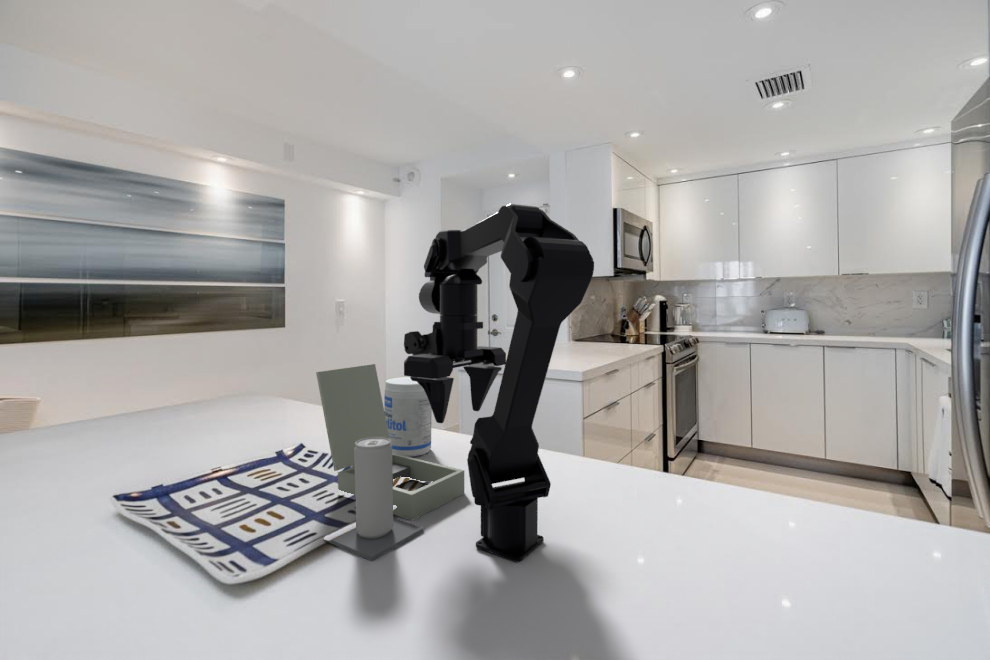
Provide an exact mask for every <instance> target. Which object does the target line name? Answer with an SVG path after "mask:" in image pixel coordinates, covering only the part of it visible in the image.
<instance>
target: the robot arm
mask: <svg viewBox="0 0 990 660" xmlns="http://www.w3.org/2000/svg"><path fill="white" fill-rule="evenodd" d="M500 252H501V253H500ZM498 253H500V259H501V260H502V262H503V263H504V266H505V267H506V268H507V269H508V272H509V273H510V277H509V286H508V287H509V290H510V291H511V292H510V293H511V296H512V297H513V300H514V303H515V305H516V310H517V314H516V319H515V323H514V325H513V329H512V335H511V339H510V343H509V347H508V352H507V353H506V352H505V350H504V349H503V348H502V347H498V346H497V347H496V346H484V345H483V346H482V345H481V346H478V330H480V329H484V321H478V285H479V286H480V285H482V284H483V280H482V278H481V277H480V276H479V275H478V272H479V270H480V269H481V268H483V267H484V266H485V265H486V264H487V263H488V257H490V256H492V255H495V254H498ZM424 261H425V262H424V264H423V269H424V277H425V278H429V280H428V281H426V282H425V283H424V284H423V285H422V286H421V288H420V290H419V293H418V300H419V304H420V306H421V308H422V309H424V311H426V312H428V313H431V314H436V315H437V314H438V315H439V321H434V322H433V324H432V332H430V333H427V334H424V333H423V334H421V332H420V331H418V330H417V331H409V332H406V333H404V338H403V339H404V340H403V348H404V352H405V353H406V354H407V355H408V356H407V357H406V359H404V362H403V376H405V377H410V378H411V380H412V381H417V382H418V383H419V384H420V385H421V386H422V387H423V389H424V391H425V393H426V395H427V397H428V400H429V403H430V406H431V408H432V413H433V414H432V415H433V416H434V420H435V422H436V423H438V424H443V423H444V421H445V419H446V416H447V415H446V414H447V411H448V408H449V407H448V406H449V402H450V398H451V393H452V388H453V384H454V380H455V379H454V377H451V375H452V373H453V370H454V369H456V368H460V367H462V368H463V369H464V371H465V372H466V374H467V375H468V377H469V383H470V385H469V387H470V399H471V407H472V410H473V411H474V412H480V410H481V408H482V406H483V405H484V402H485V399H486V397H487V395H488V393H489V391H490V389H491V387H492V385H493V383H494V382H495V380H496V378H497V376H498V374H499V372H501V371H502V368H503V367H502V366H504V370H503V373H502V376H501V377H502V378H501V381H500V386H499V390H498V393H497V398H496V402H495V407H494V410H493V413H492V414H491V416H484V417H478V418H477V420H476V421H475V423H474V426H473V427H474V428H473V435H472V437H471V439H470V441H469V443H470V445H471V446H470V449H469V450H468V454H467V458H466V461H467V468H468V469H467V470H468V475H469V477H468V478H469V481H470V482H469V483H470V489H471V492H472V497H473V499H474V500H473V501H474V504H475V506H479V507H480V536H481V538H480V539H479V540H477V541H475V547H476V548H477V549H480V550H482V551H485V552H488V553H491V554H493V555H496V556H499V557H503V558H505V559H508V560H511V561H513V562H521V561H522V560H524V558H526V557H527V556H528V555H529V554H530V553H531V552H533V551H534V550H535V549H536V548H538V547H539V546H540V545H541V544H542V543H544V536H543V535H540V534H538V520H539V519H538V513H539V512H538V509H539V507H538V506H539V504H538V503H539V501H538V500H539V498H548V497H549V493H550V490H551V489H550V488H551V483H552V482H551V481H550V479H549V476H548V473H547V471H546V469H545V467H544V464H543V462H542V460H541V458H540V455H539V454H538V453H539V447H540V444H539V442H538V439H537V437H536V435H535V432H534V429H533V424H534V420H535V416H536V413H537V410H538V409H537V408H538V405H539V402H540V399H541V394H542V391H543V388H544V385H545V381H546V377H547V374H548V370H549V367H550V363H551V361H552V360H551V359H552V357H553V352H554V348H555V345H556V341H557V338H558V335H559V331H560V328H561V325H562V323H563V322H564V321H565V320H566V319H567V318H568V317H569V316H570V315H571V314H572V313H573V311H575V310H576V309H577V307H579V306H580V305H581V304H582V301H583V299H584V297H585V295H586V293H587V291H588V287H589V286H590V284H591V282H592V279H593V275H594V273H595V272H594V270H595V261H594V258H593V256H592V253H591V252H590V250H589V248H588V246H587V245H586V244H585V243H584V242H583V241H582V240H580V239H579V238H578V237H577V236H576V234H574V233H573V232H572V231H569V230H568V229H566V227H563V226H562V225H560V224H558V223H557V222H555V221H554V220H553V219H551V218H550V217H549V216H548V214H547V213H546V212H545V211H544V210H543V209H541V208H539V207H538V206H532V205H526V204H525V205H524V204H514V203H508V204H506V205H503V206H501V207H500V208H499V210H498V211H497V212H495V213H494V214H492V215H490V216H488V217H486V218H485V219H483V220H480V221H478V222H476V223H475V224H473V225H471V226H469V227H467V228H465V229H446V230H440V231H439V232H437V234H436V236H435V237H434V238H433V239H432V242H431V246H430V247H429V250H428V253H427V255H426V258H425V260H424ZM520 479H524V480H523V481H518V482H514V483H508V484H504V485H498V486H493V485H494V484H499V483H503V482H504V483H505V482H508V481H514V480H515V481H516V480H520Z"/></svg>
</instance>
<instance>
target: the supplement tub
mask: <svg viewBox="0 0 990 660" xmlns="http://www.w3.org/2000/svg"><path fill="white" fill-rule="evenodd" d="M410 377H411V376H405V377H393V378H389V379H387V380H386V381H385V385H384V400H383V401H384V403H383V407H384V412H385V417H386V422H387V428H388V433H389V438H390V440H391V445H392V453H396V454H400V455H404V456H408V457H412V458H414V457H419V456H422V455H425V454H426V453H428V452H430V450H431V449H432V421H433V420H432V415H433V414H432V413H433V411H432V408H431V406H430V403H429V400H428V397H427V395H426V393H425V391H424V389H423V387H422V386H421V385H420V384H419V383H418V382H417V381H412V380H411V378H410Z"/></svg>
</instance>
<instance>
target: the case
mask: <svg viewBox="0 0 990 660" xmlns="http://www.w3.org/2000/svg"><path fill="white" fill-rule="evenodd" d="M392 471H393V479H395V478H397V477H400V476H401V477H410V478H412V479H416V480H420V481H433V482H432V483H430V484H428V485H426V484H425V485H423V486H422V487H420V488H419V487H418V488H417V489H415V490H413V491H410V490H407V489H403V488H400V487H398V486H397V487H394V486H393V505H396V506H397V508H396V509H395V510H394V511H393V516H397V517H401V518H403V519H406V520H409V521H414V520H416V519H418V518H420V517H422V516H424V515H426V514H428V513H429V512H432V511H433V510H435V509H437V508H439V507H441V506H442V505H444V504H446V503H449V502H450V501H452V500H455V498H458V497H460V496H462V495H463V494H465V470H463V469H460V468H456V467H452V466H448V465H443V464H441V463H440V464H439V463H436V462H431V461H427V460H422V459H420V458H415V457H408V456H404V455H400V454H396V453H392ZM338 489H339V490H341V491H344V492H347V493H351V494H354V495H355V467H352V468H349V467H348V468H347V469H346V468H345V469H344V470H343V469H342V470H340V471H338V472H337V490H338Z"/></svg>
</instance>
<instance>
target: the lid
mask: <svg viewBox="0 0 990 660" xmlns="http://www.w3.org/2000/svg"><path fill="white" fill-rule="evenodd" d="M378 377H379V376H378V372H377V366H376V364H375V363H373V364H367V365H358V366H352V367H351V366H350V367H343V368H337V369H336V368H335V369H329V370H322V371H317V372H316V379H317V385H318V390H319V395H320V401H321V406H322V411H323V416H324V423H325V428H326V434H327V437H328V443H329V444H328V445H329V449H330V454H331V460H332V465H333V472H337V471H339V470H340V471H341V470H343V469H346V468H349V467H350V466H352V465H354V448H355V447H356V446H355V442H356V441H358V440H360V439H364V438H370V437H384V438H388V439H390V438H389V433H388V428H387V422H386V417H385V412H384V403H383V397H382V394H381V387H380V383H379V382H380V381H379V378H378ZM390 444H391V443H390Z"/></svg>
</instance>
